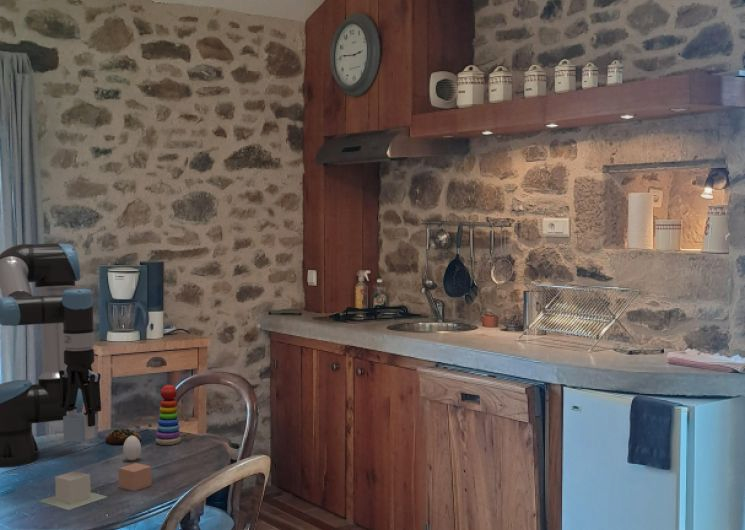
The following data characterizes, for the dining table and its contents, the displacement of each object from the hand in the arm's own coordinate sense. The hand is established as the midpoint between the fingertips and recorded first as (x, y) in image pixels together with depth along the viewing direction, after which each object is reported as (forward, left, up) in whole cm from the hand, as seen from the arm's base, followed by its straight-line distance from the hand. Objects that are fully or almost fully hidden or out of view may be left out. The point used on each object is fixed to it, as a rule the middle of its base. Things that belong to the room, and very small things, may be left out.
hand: (80, 436), depth 227 cm
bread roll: (-34, +43, -16) cm, 57 cm away
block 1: (0, 0, 0) cm, 0 cm away
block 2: (+2, -4, -15) cm, 16 cm away
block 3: (+7, +12, -16) cm, 21 cm away
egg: (-15, +30, -16) cm, 37 cm away
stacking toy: (-21, +50, -16) cm, 56 cm away
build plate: (+2, -4, -16) cm, 16 cm away
